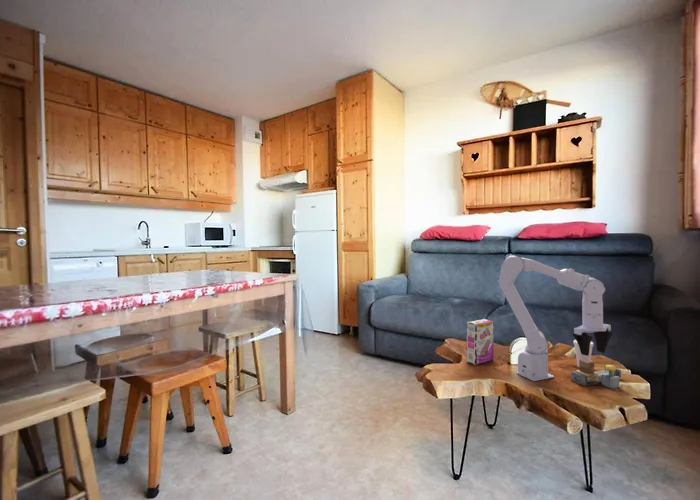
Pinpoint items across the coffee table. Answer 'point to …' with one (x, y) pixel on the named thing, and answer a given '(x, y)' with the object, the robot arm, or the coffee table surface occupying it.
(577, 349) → the smoothie
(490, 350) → the candy bar box
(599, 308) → the robot arm
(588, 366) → the carriage
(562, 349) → the coffee table surface
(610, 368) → the gauge button
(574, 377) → the rail
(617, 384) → the post
